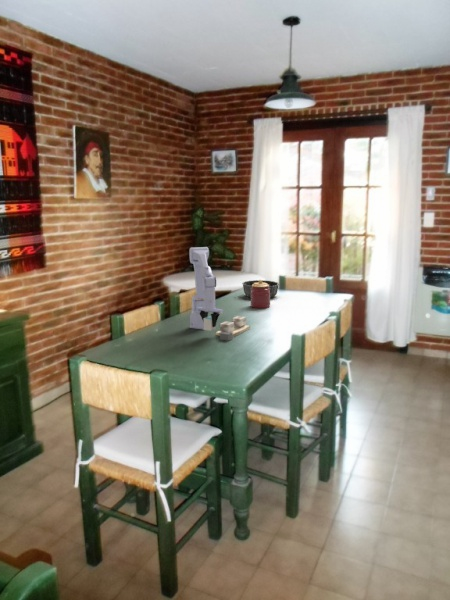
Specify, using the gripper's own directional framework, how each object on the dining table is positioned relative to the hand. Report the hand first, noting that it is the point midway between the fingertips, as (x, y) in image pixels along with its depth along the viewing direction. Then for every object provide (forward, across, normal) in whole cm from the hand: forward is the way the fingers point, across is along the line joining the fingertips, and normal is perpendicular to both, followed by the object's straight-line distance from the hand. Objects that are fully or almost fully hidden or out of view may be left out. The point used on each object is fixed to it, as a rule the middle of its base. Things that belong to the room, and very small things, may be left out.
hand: (209, 326), depth 252 cm
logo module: (+2, 0, 0) cm, 2 cm away
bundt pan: (+7, -22, +107) cm, 109 cm away
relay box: (+6, +10, 0) cm, 11 cm away
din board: (+6, +6, +14) cm, 16 cm away
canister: (+6, -8, +77) cm, 78 cm away
